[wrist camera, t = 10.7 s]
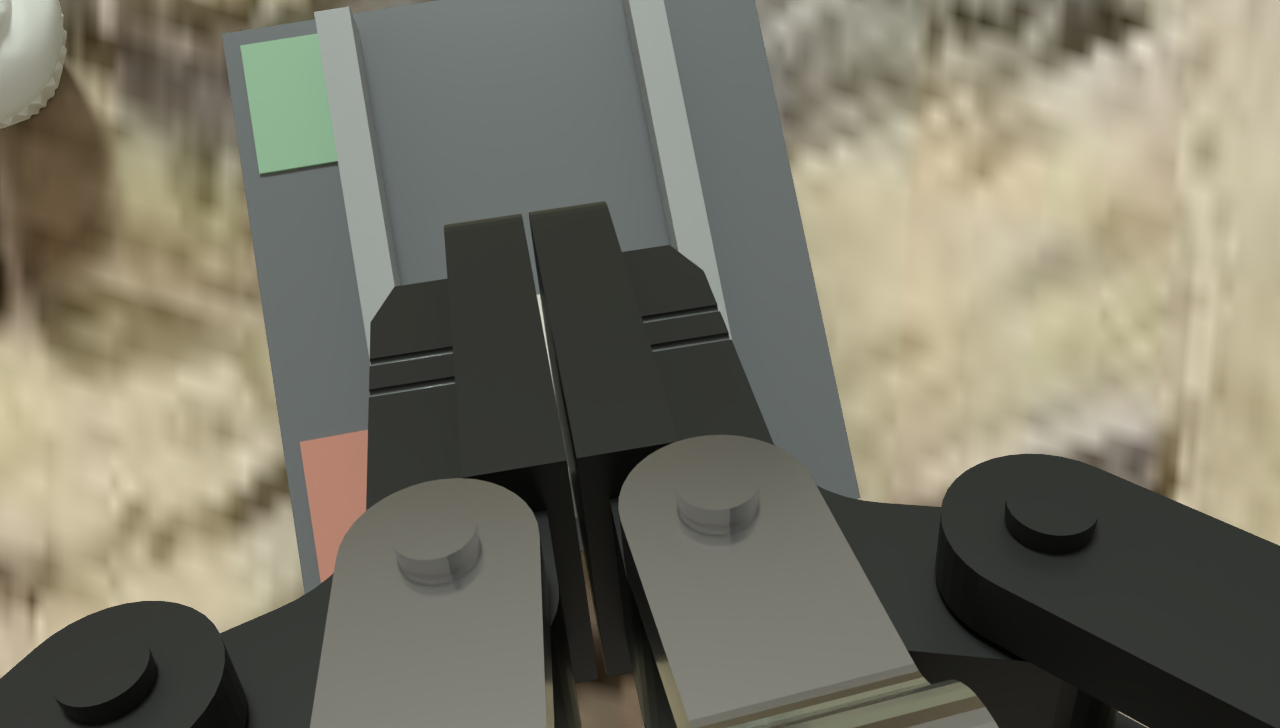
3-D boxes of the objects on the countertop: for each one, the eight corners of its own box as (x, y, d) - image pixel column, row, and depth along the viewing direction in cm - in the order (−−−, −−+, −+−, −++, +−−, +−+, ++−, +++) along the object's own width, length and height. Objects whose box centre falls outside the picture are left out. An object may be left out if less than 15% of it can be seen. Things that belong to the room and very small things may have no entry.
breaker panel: (736, -18, 39) (751, -72, 35) (845, 499, 37) (872, 495, 33) (240, 60, 38) (206, 11, 34) (321, 600, 35) (293, 606, 32)
